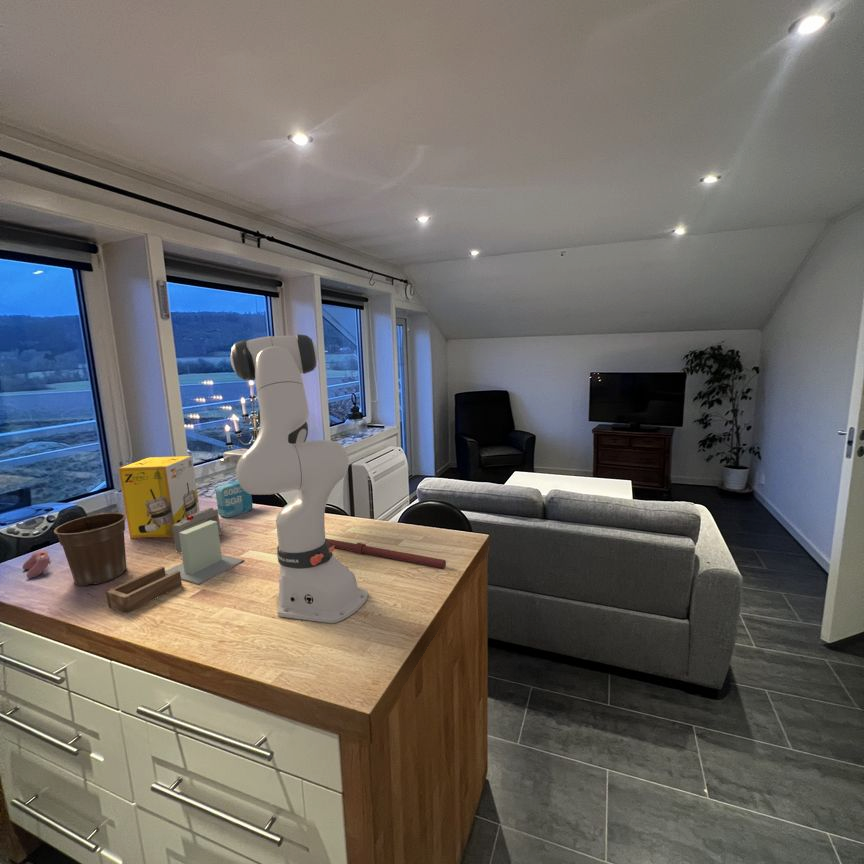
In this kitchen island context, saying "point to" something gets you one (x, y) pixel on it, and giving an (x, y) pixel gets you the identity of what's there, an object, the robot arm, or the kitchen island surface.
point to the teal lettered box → (232, 500)
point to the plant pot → (94, 547)
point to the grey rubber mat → (206, 570)
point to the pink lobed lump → (37, 563)
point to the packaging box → (158, 494)
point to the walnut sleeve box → (142, 589)
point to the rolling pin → (387, 553)
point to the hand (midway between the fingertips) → (231, 463)
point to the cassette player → (194, 523)
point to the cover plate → (200, 546)
